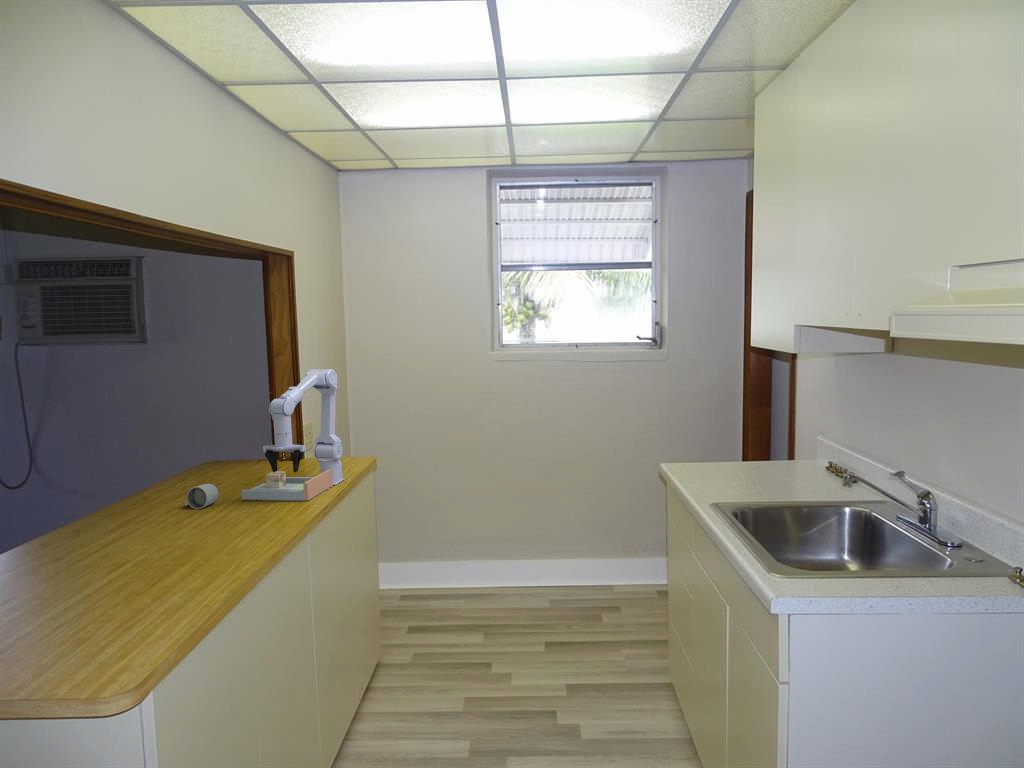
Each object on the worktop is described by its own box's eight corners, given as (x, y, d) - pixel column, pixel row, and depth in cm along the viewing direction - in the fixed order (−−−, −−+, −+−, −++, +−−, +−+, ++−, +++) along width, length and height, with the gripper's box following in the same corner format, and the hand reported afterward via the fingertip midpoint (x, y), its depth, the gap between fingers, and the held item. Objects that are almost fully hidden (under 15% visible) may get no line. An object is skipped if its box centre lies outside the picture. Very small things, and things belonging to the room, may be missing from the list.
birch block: (273, 484, 250) (272, 471, 250) (286, 484, 249) (285, 471, 249) (266, 488, 245) (265, 474, 245) (279, 488, 244) (278, 474, 244)
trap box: (271, 485, 259) (270, 469, 258) (332, 486, 255) (331, 469, 255) (242, 500, 238) (241, 482, 238) (308, 501, 235) (307, 483, 234)
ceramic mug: (221, 502, 236) (219, 481, 236) (207, 509, 228) (205, 486, 227) (192, 503, 238) (190, 481, 237) (178, 509, 229) (176, 487, 229)
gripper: (257, 435, 232) (260, 474, 233) (297, 435, 230) (300, 474, 232) (267, 431, 239) (270, 469, 240) (306, 431, 237) (309, 469, 238)
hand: (285, 471), depth 236 cm, fingers open, 7 cm apart
